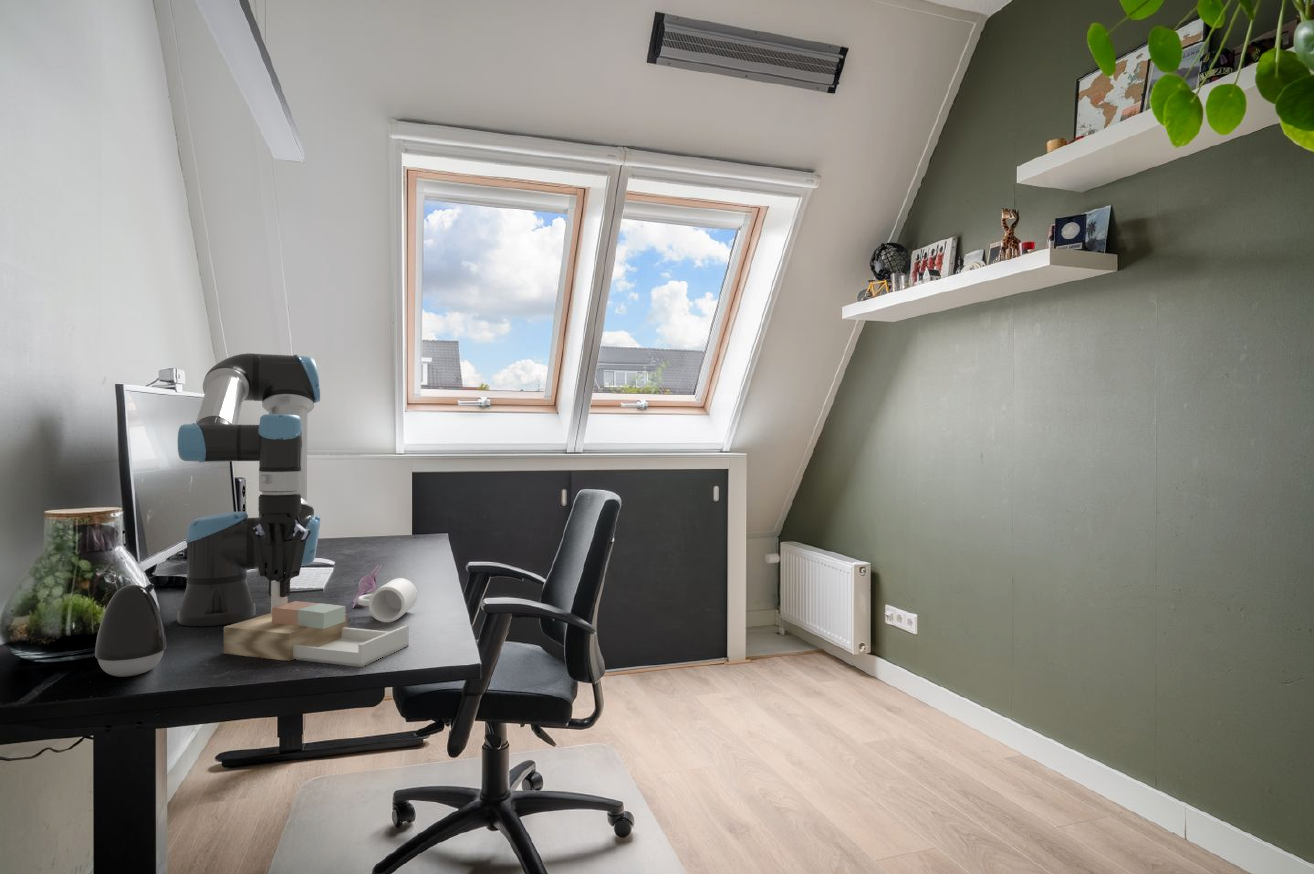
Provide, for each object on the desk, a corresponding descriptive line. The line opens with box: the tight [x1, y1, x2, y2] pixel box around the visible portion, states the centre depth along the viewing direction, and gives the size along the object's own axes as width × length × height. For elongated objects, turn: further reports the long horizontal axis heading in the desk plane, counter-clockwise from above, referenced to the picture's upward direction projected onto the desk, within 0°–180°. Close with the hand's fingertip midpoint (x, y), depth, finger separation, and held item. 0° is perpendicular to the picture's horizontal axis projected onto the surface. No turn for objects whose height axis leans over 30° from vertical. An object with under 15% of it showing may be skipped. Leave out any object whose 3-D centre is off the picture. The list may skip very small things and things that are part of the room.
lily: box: [352, 563, 384, 609], centre depth 187 cm, size 12×12×10 cm
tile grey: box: [297, 602, 347, 629], centre depth 147 cm, size 6×6×3 cm
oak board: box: [223, 612, 349, 662], centre depth 150 cm, size 15×16×5 cm
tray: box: [292, 625, 410, 668], centre depth 146 cm, size 15×14×4 cm
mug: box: [356, 577, 418, 623], centre depth 173 cm, size 12×10×8 cm
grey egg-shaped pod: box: [94, 583, 167, 678], centre depth 133 cm, size 10×10×15 cm
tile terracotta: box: [272, 600, 319, 626], centre depth 149 cm, size 6×6×3 cm
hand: (279, 612), depth 150 cm, fingers closed
